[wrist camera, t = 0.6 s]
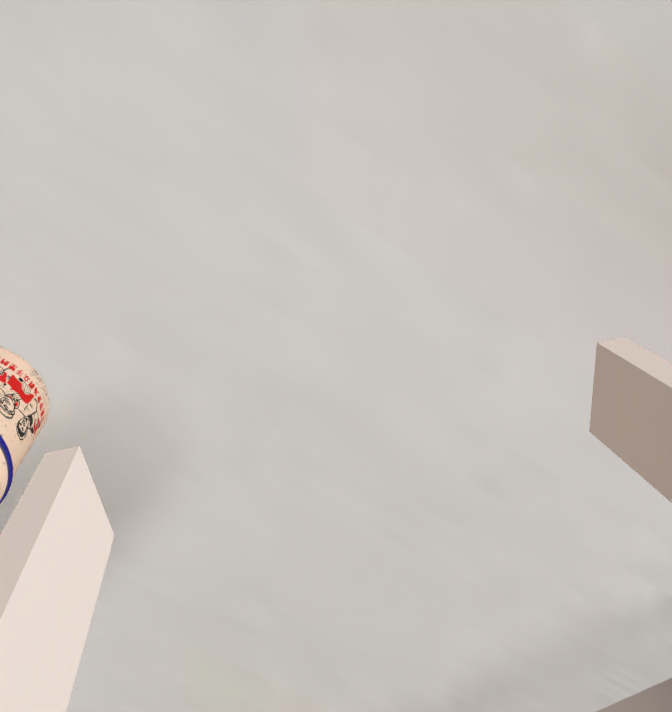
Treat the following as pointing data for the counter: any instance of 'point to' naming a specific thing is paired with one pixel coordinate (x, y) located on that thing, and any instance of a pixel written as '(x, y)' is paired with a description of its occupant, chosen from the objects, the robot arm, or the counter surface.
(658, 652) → the counter surface
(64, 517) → the robot arm
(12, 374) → the teacup with lid
